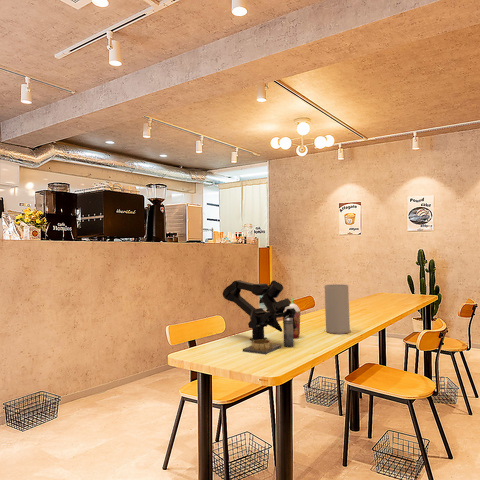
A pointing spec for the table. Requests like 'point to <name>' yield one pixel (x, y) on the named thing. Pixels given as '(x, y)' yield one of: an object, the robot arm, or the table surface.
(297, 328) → the smoothie
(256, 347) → the ring collar
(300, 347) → the table surface
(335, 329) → the cylinder vase
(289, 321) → the piston
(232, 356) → the table surface
